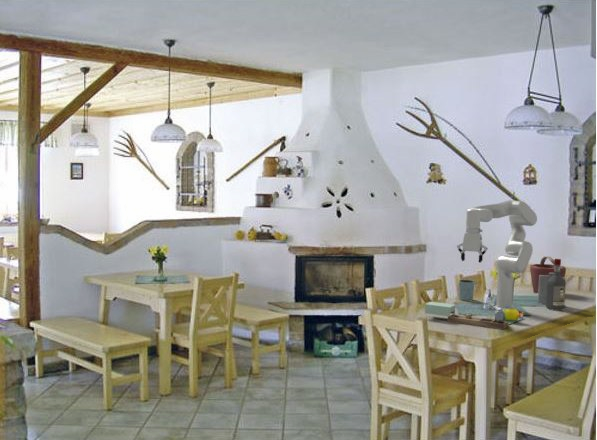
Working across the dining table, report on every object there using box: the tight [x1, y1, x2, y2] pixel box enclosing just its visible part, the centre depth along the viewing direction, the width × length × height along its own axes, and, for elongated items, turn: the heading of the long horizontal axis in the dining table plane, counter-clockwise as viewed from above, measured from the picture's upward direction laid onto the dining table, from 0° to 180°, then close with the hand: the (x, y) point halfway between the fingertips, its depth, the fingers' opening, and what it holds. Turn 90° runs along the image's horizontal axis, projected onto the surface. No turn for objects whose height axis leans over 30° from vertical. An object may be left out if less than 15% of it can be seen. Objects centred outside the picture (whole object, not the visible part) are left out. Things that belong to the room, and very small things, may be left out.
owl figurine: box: [494, 307, 526, 326], centre depth 371 cm, size 28×9×15 cm
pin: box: [494, 310, 504, 324], centre depth 357 cm, size 4×4×8 cm
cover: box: [424, 301, 456, 317], centre depth 373 cm, size 9×14×5 cm, turn 59°
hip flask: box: [537, 273, 566, 305], centre depth 422 cm, size 16×4×20 cm, turn 51°
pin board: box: [447, 313, 510, 330], centre depth 363 cm, size 9×30×4 cm, turn 59°
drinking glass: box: [458, 279, 476, 302], centre depth 433 cm, size 10×10×12 cm
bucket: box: [529, 256, 567, 294], centre depth 464 cm, size 24×22×25 cm
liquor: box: [545, 258, 567, 311], centre depth 409 cm, size 9×9×30 cm
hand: (471, 261), depth 384 cm, fingers open, 9 cm apart
